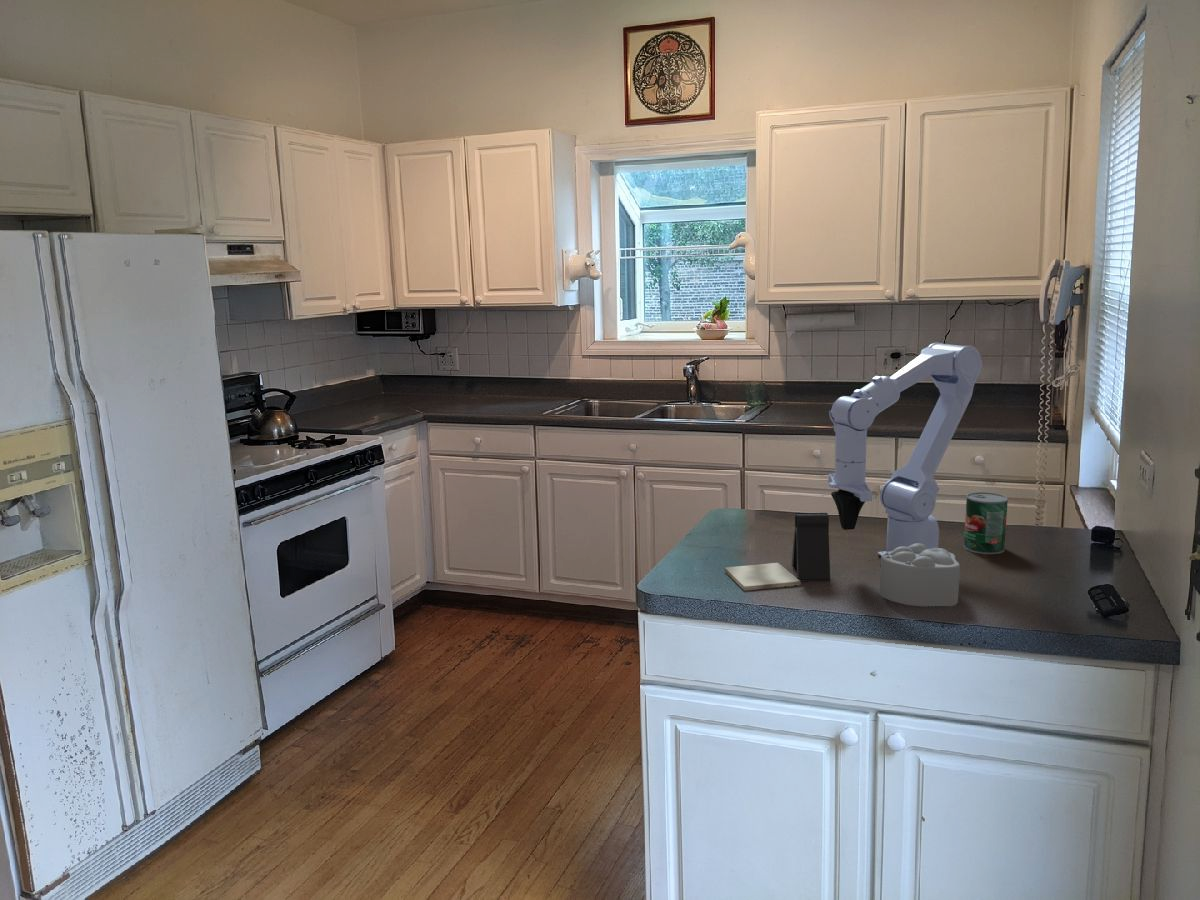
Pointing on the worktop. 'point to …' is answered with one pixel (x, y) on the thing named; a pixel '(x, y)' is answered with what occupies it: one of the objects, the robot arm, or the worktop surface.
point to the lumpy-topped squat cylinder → (920, 576)
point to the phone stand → (811, 547)
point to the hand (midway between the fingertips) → (848, 528)
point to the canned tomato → (985, 523)
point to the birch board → (761, 576)
